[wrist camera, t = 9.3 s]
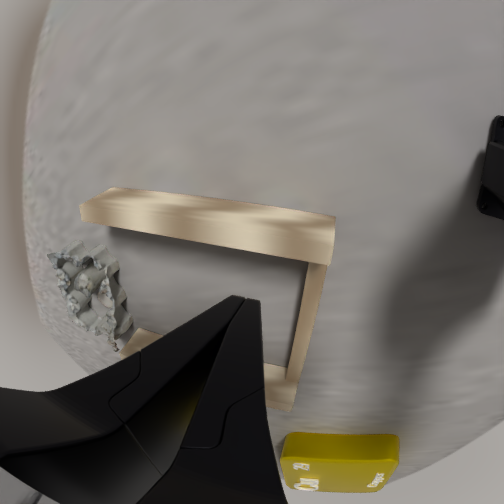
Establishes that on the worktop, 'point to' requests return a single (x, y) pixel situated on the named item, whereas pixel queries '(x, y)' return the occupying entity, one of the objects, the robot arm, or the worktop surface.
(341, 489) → the element tile
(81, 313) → the egg carton
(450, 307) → the worktop surface
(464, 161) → the worktop surface
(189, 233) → the open wooden frame
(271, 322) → the worktop surface
